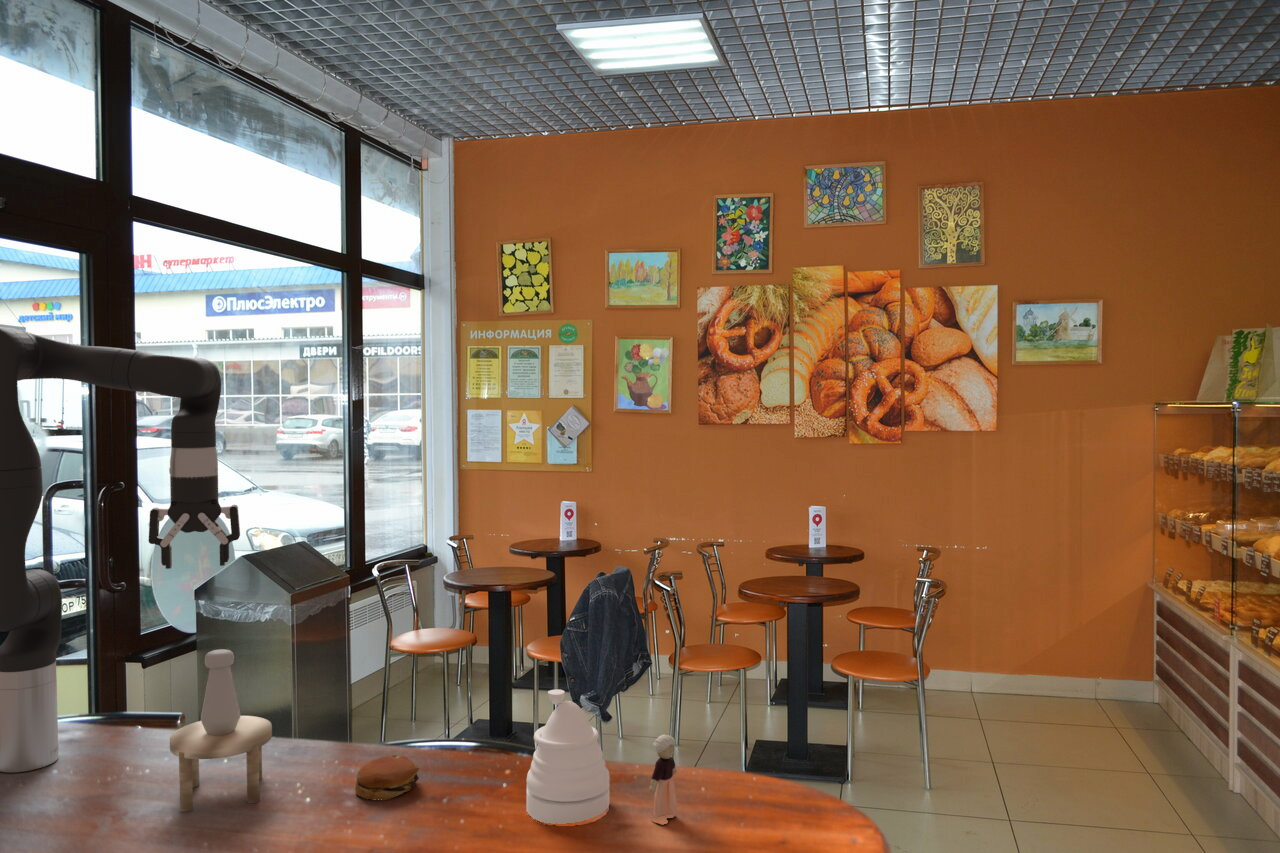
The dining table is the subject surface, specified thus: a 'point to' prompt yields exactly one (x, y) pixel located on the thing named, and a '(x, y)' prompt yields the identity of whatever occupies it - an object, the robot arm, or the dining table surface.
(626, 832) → the dining table surface
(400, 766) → the burger
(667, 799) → the grandmother figurine
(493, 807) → the dining table surface
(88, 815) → the dining table surface
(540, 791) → the honey pot
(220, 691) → the salt shaker
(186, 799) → the stool
